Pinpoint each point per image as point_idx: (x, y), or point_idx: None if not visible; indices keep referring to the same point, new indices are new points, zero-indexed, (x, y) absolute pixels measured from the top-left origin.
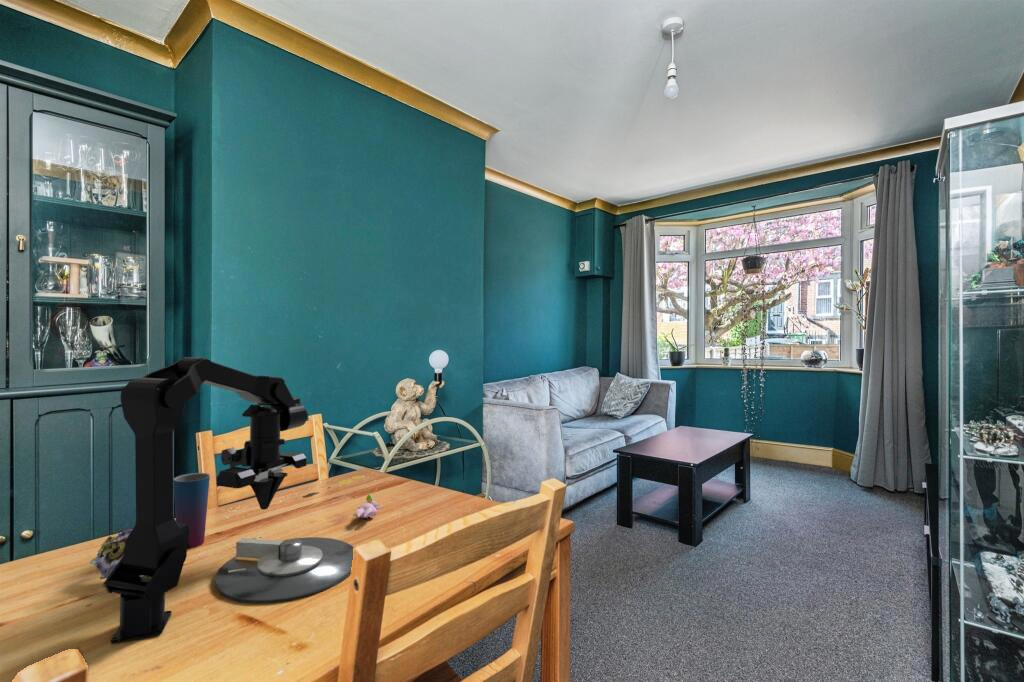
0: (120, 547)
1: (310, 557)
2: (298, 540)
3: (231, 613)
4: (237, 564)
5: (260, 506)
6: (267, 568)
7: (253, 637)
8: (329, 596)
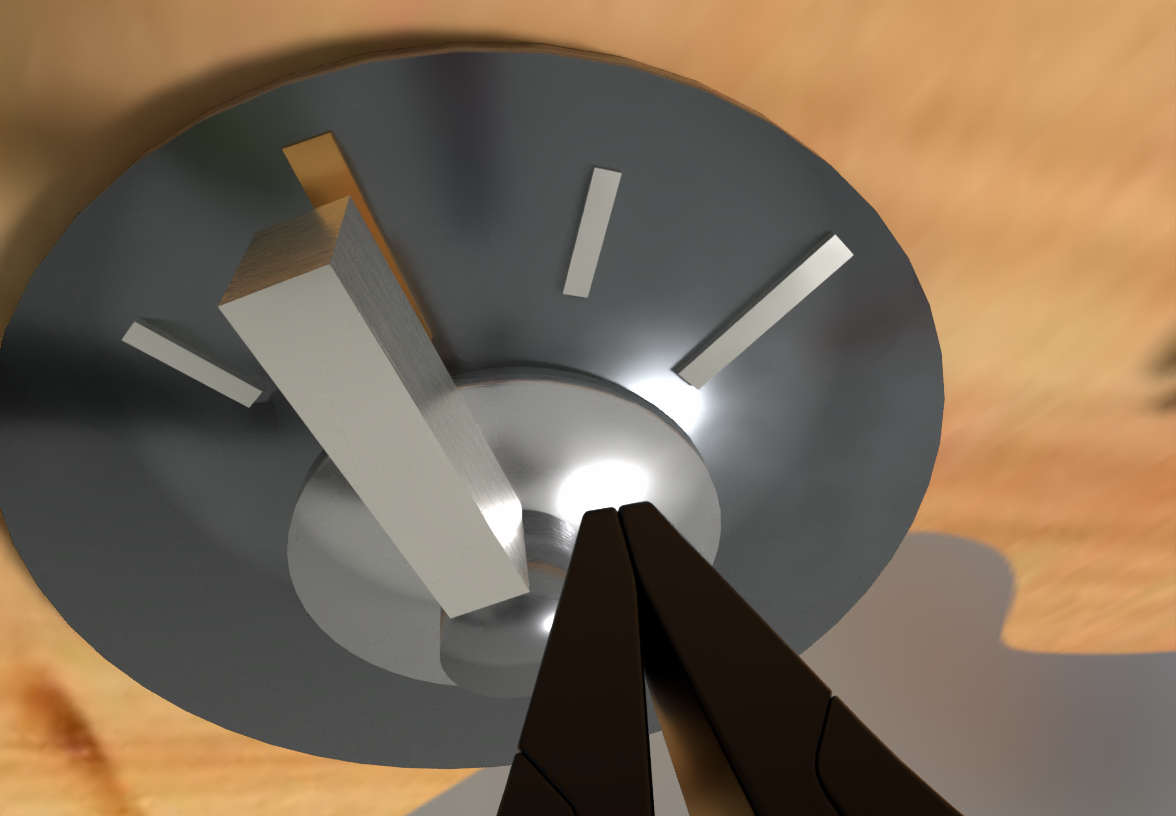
0: None
1: None
2: None
3: (6, 652)
4: None
5: (576, 550)
6: (321, 572)
7: (30, 807)
8: (416, 776)
